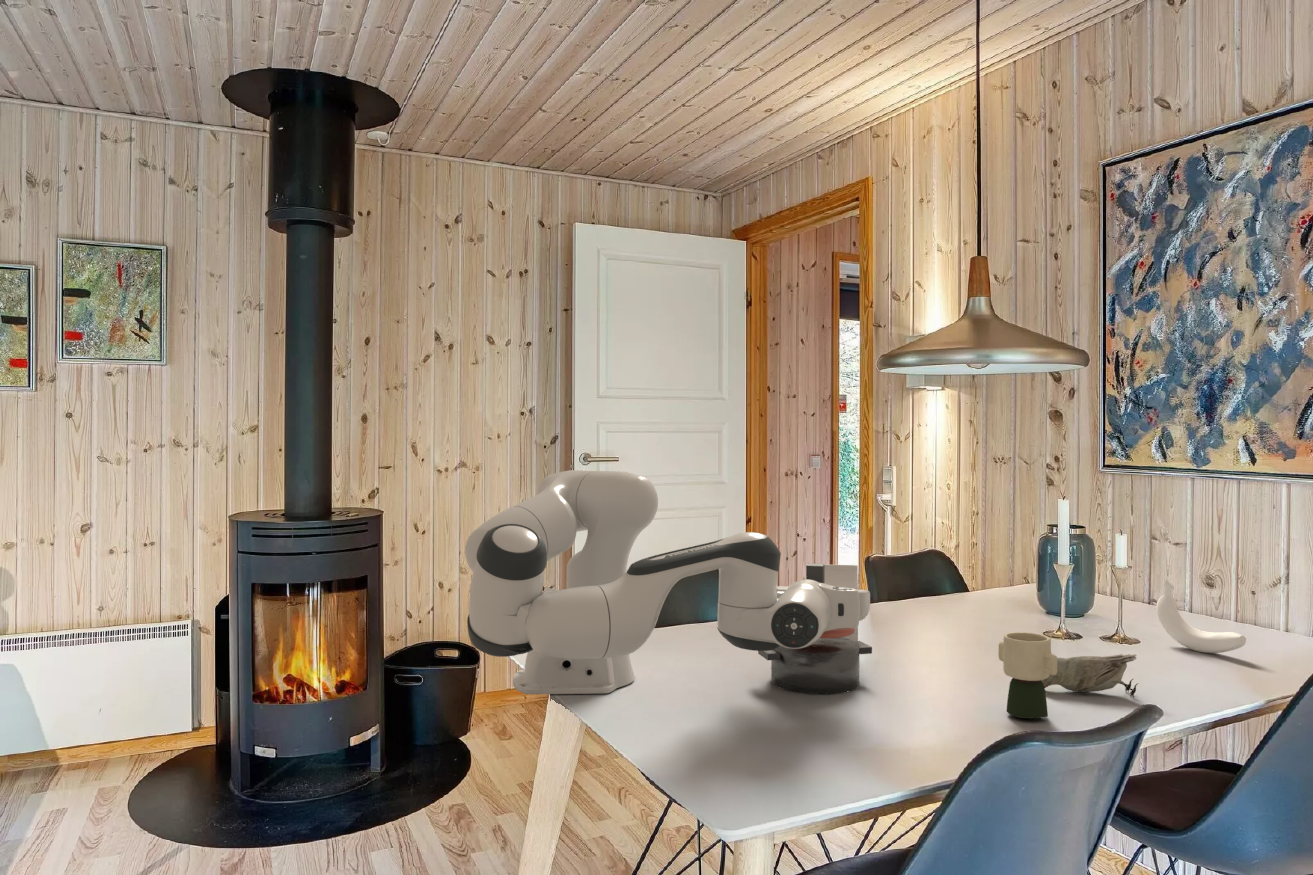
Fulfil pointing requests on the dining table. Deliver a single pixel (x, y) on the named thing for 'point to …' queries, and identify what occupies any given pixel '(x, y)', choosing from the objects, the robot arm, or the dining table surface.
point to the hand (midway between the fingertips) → (816, 592)
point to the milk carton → (843, 582)
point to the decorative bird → (1091, 673)
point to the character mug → (1027, 672)
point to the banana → (1189, 634)
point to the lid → (818, 574)
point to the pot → (818, 666)
